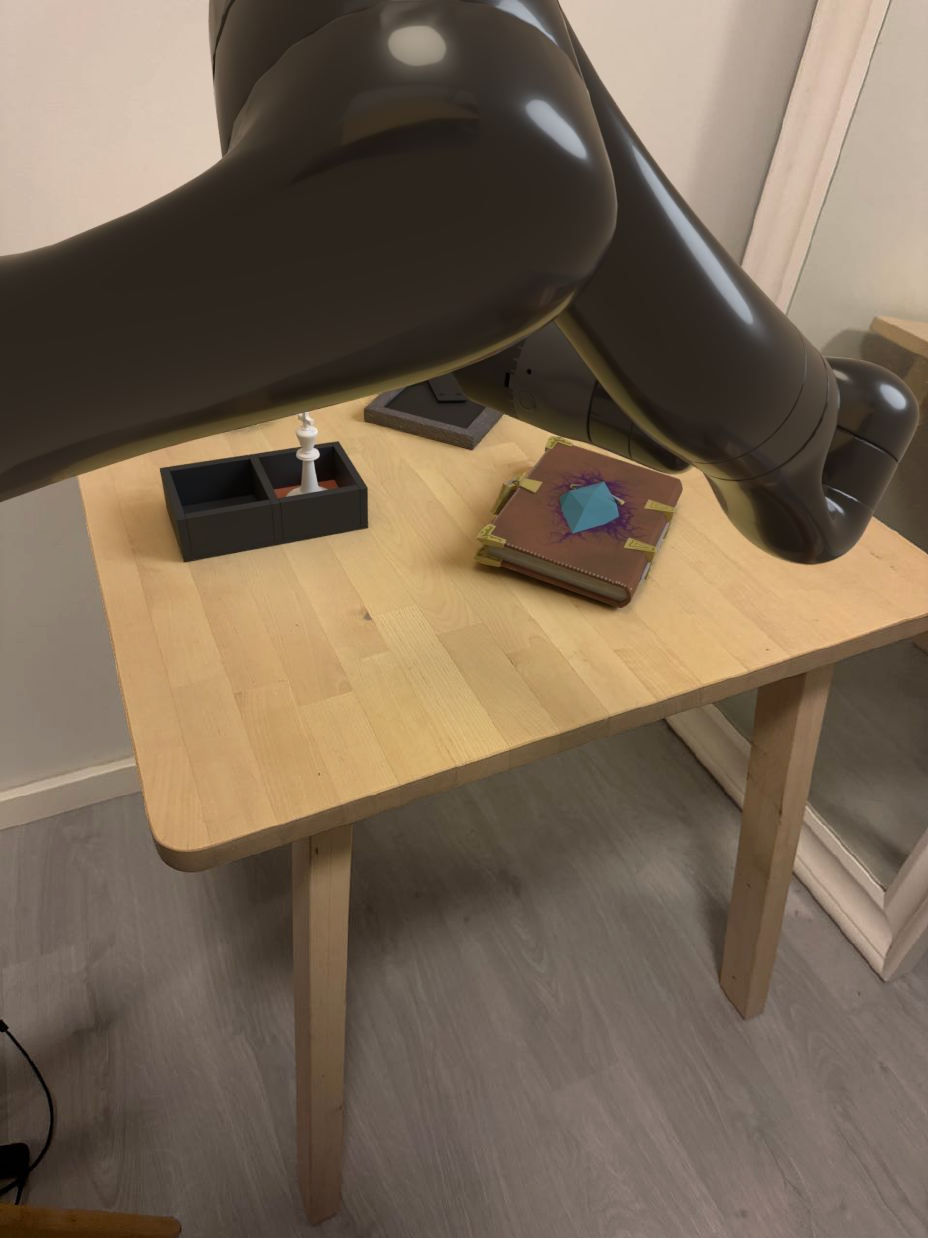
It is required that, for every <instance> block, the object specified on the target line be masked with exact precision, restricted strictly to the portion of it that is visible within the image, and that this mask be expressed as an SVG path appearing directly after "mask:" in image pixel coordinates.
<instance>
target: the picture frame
mask: <svg viewBox="0 0 928 1238" xmlns="http://www.w3.org/2000/svg"><path fill="white" fill-rule="evenodd" d="M504 415H505V414H503V413H500V412H498V411H495V410H493V409H490V408H488V407H485V406H483V405H480V404H478V403H476V402H473V401H471V400H470V399H468V398H467V397H466V396H465V395H464V394H463V392H462V391H461V389H460V387H459V385H458V383H457V381H456V379H455V378H454V376H453V375H452V374H451V372H450V373H447V374H444V375H441V376H438V377H435V378H432V379H429V380H425V381H422V382H419V383H416V384H412V385H410V386H407V387H402V388H398V389H394V390H390V391H387V392H383V393H379V394H378V395H377V396H376V397H375V398H374V399H373V400H372V401H370V402H369V403H368V404H367V405H366V406H365V407H364V408H363V421H364V422H368V423H371V424H375V425H378V426H382V427H385V428H386V427H387V428H390V429H394V430H397V431H400V432H403V433H404V432H405V433H408V434H412V435H416V436H419V437H424V438H427V439H430V440H434V441H439V442H442V443H445V444H450V445H453V446H457V447H460V448H463V449H468V450H471V451H473V450H475V448H476V447H477V446H478V445H479V444H480V442H481V441H482V440H483V439H484V438H485V437H486V436H487V434H488V433H489V432H490V431H491V430H492V428H493V427H495V425H496V424H497V423H498V422H499V421H500V419H501V418H502V417H503V416H504Z"/></svg>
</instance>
